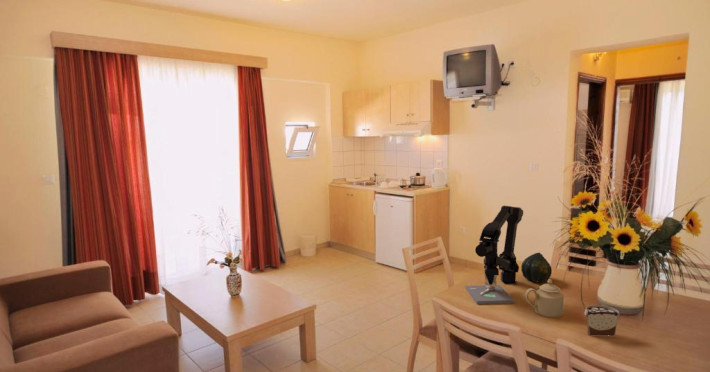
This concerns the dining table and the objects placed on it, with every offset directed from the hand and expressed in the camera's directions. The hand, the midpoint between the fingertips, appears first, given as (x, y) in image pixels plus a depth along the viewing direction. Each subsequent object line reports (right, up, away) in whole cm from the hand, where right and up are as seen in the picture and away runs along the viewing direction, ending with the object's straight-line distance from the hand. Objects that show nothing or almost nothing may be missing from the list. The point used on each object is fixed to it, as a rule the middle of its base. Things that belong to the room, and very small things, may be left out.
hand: (490, 283), depth 203 cm
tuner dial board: (-2, -5, -3) cm, 6 cm away
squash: (+29, -2, +17) cm, 34 cm away
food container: (+28, -10, -41) cm, 51 cm away
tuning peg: (-3, -3, -2) cm, 5 cm away
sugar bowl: (+16, -8, -23) cm, 29 cm away
